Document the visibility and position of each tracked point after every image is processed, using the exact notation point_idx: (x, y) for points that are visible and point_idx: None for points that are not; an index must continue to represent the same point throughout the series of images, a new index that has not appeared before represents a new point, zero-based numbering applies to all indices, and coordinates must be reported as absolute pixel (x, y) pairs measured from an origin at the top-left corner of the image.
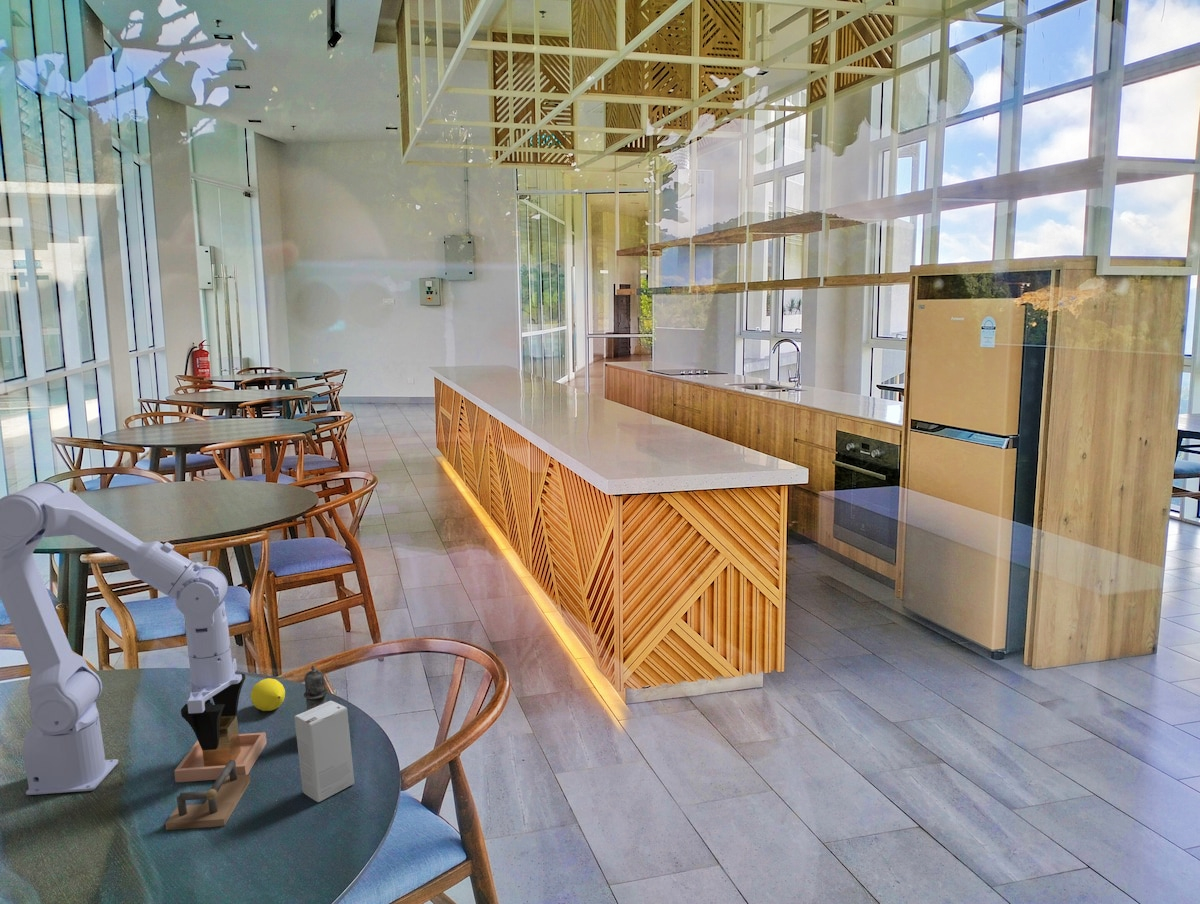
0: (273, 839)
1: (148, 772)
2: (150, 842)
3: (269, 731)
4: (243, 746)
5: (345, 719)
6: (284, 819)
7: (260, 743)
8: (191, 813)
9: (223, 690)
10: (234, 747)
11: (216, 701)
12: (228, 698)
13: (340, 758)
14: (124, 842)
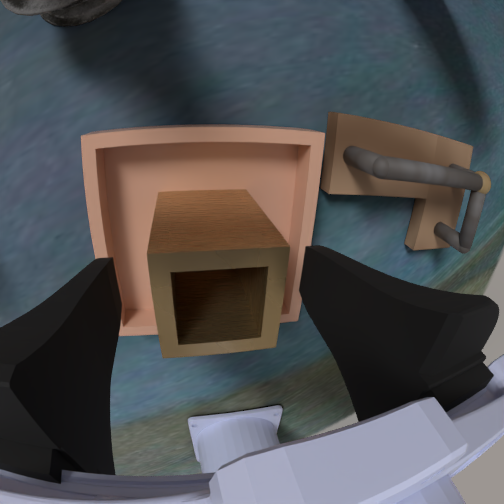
0: (494, 64)
1: (229, 367)
2: (454, 251)
3: (24, 157)
4: (123, 197)
5: None
6: (464, 40)
7: (148, 128)
8: (444, 212)
9: (84, 411)
10: (213, 203)
11: (105, 387)
12: (86, 354)
13: None
14: (438, 288)
